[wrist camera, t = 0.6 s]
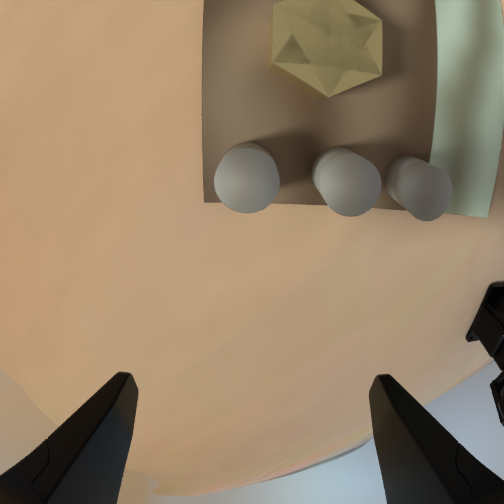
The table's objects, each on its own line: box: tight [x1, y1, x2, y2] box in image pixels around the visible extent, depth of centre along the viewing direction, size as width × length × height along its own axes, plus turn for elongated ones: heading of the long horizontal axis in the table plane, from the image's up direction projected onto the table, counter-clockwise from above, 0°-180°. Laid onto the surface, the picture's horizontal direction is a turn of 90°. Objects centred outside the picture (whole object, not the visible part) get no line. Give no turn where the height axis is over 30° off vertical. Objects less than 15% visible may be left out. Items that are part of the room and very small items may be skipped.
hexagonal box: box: [269, 0, 382, 98], centre depth 12 cm, size 5×6×3 cm
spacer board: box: [202, 0, 504, 221], centre depth 12 cm, size 20×18×4 cm
